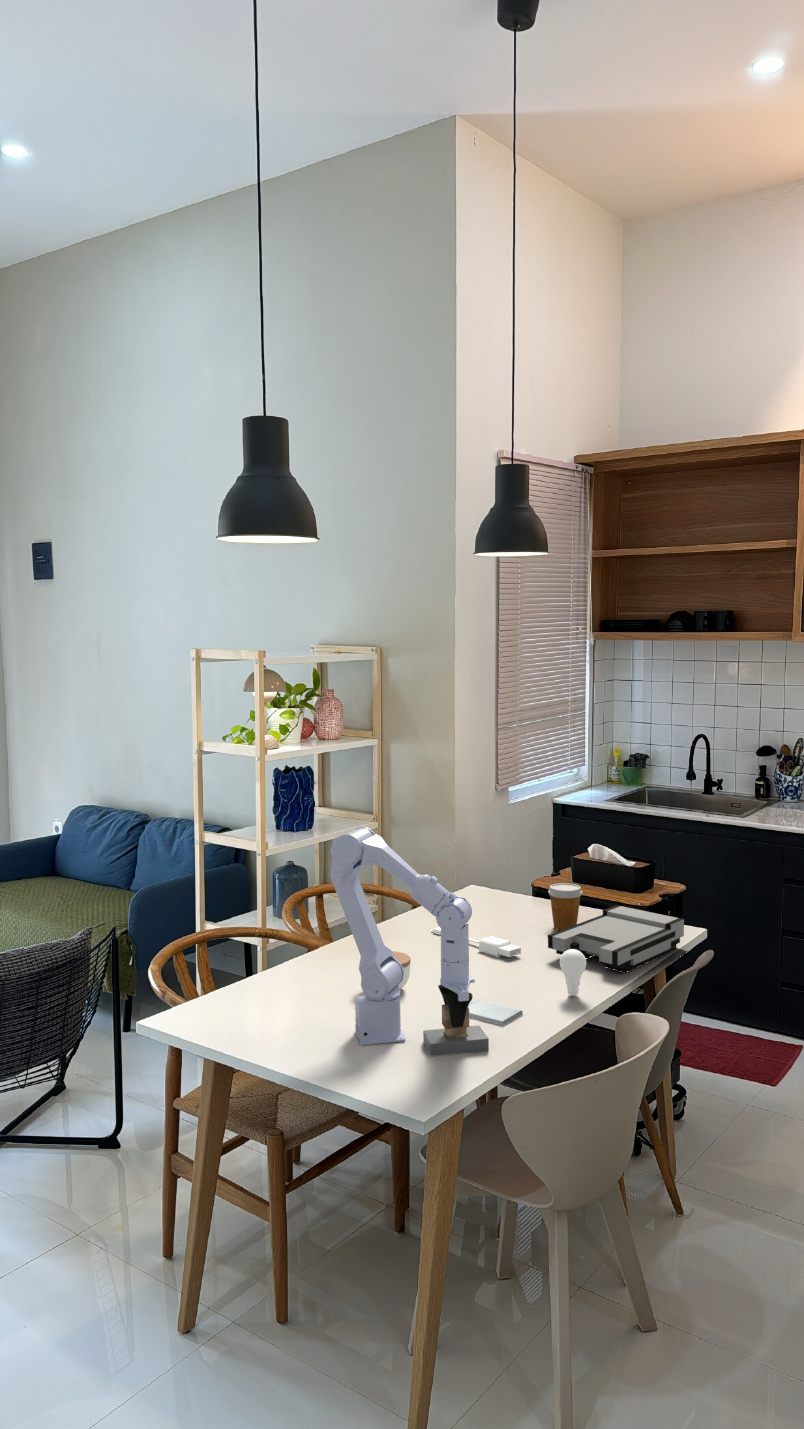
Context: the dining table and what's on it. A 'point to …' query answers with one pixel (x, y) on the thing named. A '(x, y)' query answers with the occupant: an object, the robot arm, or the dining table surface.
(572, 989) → the lightbulb
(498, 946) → the charging cable
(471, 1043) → the block
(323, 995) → the dining table surface
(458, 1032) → the walnut plug
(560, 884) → the disposable coffee cup
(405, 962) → the lidded jar
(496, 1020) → the hard drive
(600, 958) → the game console
